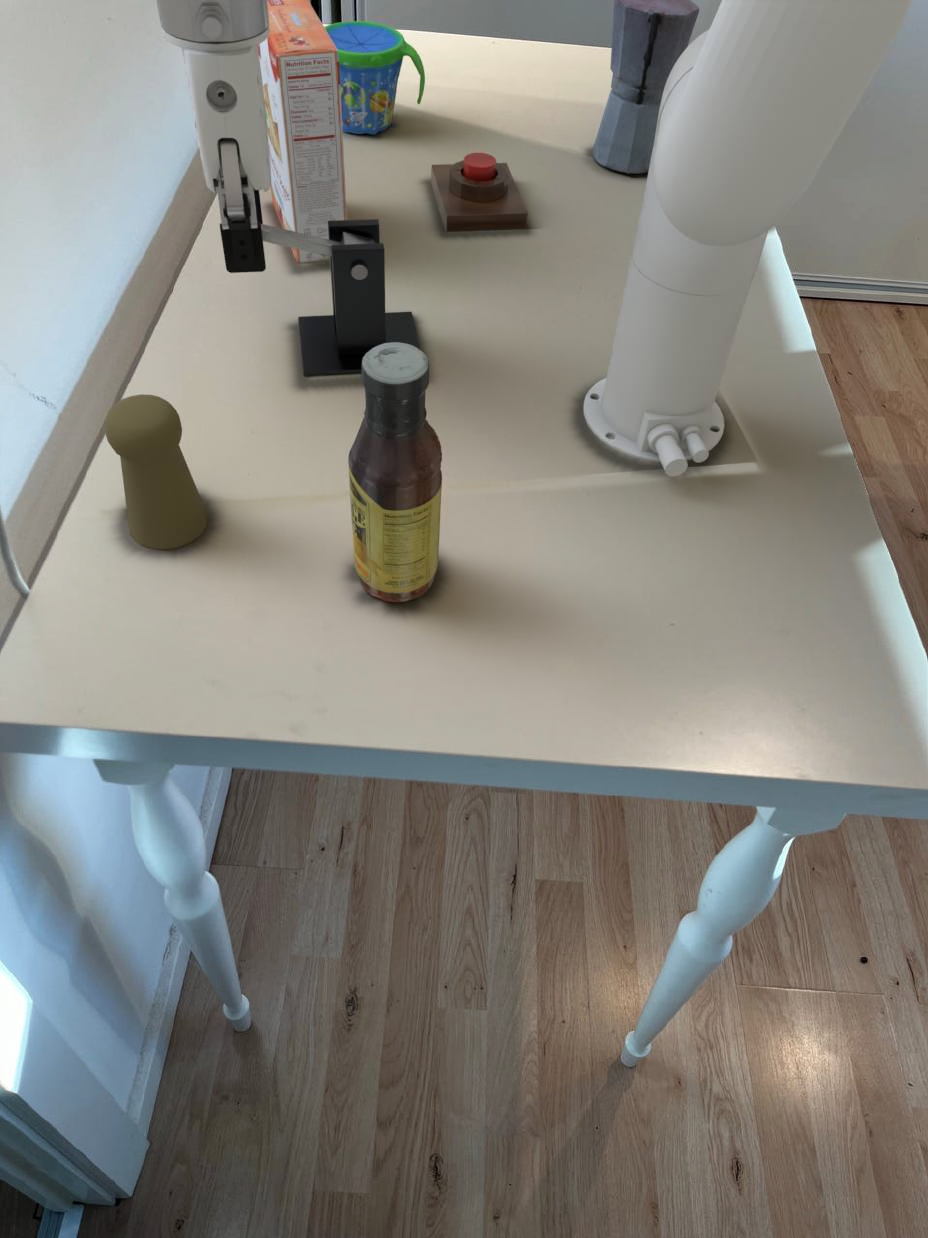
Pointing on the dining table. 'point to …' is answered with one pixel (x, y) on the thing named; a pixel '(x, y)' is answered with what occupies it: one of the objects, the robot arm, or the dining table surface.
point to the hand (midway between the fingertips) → (245, 249)
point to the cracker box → (303, 121)
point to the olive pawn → (155, 473)
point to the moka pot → (640, 77)
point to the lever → (308, 240)
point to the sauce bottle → (395, 477)
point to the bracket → (353, 307)
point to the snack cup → (370, 73)
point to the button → (479, 167)
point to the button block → (477, 200)
